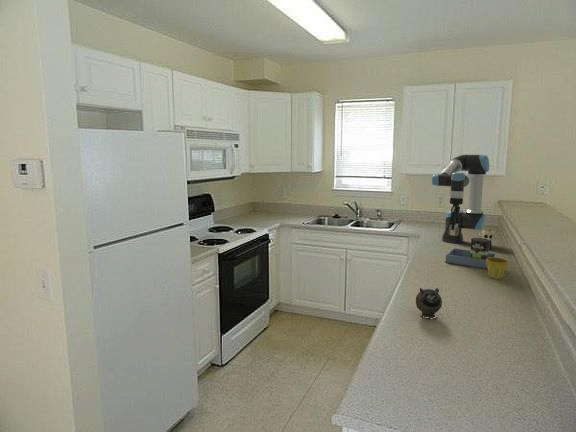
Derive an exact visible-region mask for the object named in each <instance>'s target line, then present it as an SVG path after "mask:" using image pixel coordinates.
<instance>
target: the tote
mask: <svg viewBox="0 0 576 432" xmlns="http://www.w3.org/2000/svg"><path fill="white" fill-rule="evenodd" d="M498 254H499V253H493V252H489V253H488V258H490V257H496V258H498V257H499V256H498ZM445 263H446V264H452V265H457V266H458V265H459V266H465V267H473V268H479V269H487V270H488V268H487V265H486V260H483V259H476V258H470V249H463V248H455V247H452V249H450V250H449V252H447V253H446V254H445Z"/></svg>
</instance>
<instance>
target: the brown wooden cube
mask: <svg viewBox="0 0 576 432" xmlns="http://www.w3.org/2000/svg"><path fill="white" fill-rule="evenodd" d="M450 231H451V226H450V227H449V234H448V235H450ZM458 235H459V227H456V229H455V235H452V236H458Z"/></svg>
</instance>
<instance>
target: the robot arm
mask: <svg viewBox="0 0 576 432" xmlns="http://www.w3.org/2000/svg"><path fill="white" fill-rule="evenodd" d="M460 171H461V172H460ZM489 171H490V160H489V157H488V155H486V154H461V155H458V156H455V157H454V158H452V159H451V160H450V161H448V164H447V166H446V167H445V168H444V169H443V170H442V171H441V172H440V173H439V174H438V173H437V174H435V173H434V174H433V175H432V177H431V184H432V186H434V187H435V186H436V187H450V191H449V197H450V198H449V204H450V205H452V207H451V209H450V210H449V211H446V214H445V223H444V232H443V234H442V237H441V241H442V242H445V243H450V244H452V243H453V244H461V243H464V235H463V232H462V230H463V229H464V230H473V231H481V230H483V227H484V225H485V222H486V216H487V215H486V214H485V213H484V211H483V210H482V201H483V191H484V189H483V186H484V177H485V176H486V175H487V172H489ZM464 172H467V174H468V175H469V176H470V177H469V176H467V175H465V173H464ZM468 185H469V189H468V207H467V209H466V210H465V212H464V210H462V209H461V205H463V204H464V203H463V202H464V192H465V191H464V189H465V187H467V186H468ZM450 226H451V231H450V235H448V234H449V227H450ZM456 227H459V235H458V236H452V235H455V229H456Z"/></svg>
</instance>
